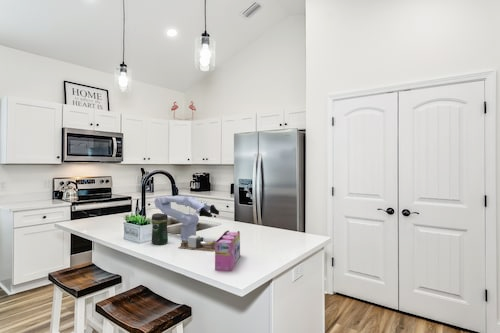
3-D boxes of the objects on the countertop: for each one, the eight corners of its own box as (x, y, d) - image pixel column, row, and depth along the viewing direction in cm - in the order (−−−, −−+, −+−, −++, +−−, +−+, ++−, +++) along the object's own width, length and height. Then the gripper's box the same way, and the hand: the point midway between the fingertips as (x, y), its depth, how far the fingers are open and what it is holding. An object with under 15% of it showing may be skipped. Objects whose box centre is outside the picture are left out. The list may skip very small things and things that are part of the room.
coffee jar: (170, 242, 180) (170, 213, 180) (160, 246, 173) (160, 215, 173) (158, 240, 185) (158, 211, 184) (149, 243, 178) (149, 213, 177)
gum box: (226, 254, 159) (227, 229, 159) (240, 255, 157) (241, 230, 157) (214, 270, 135) (214, 241, 135) (230, 271, 134) (231, 242, 134)
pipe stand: (178, 248, 169) (178, 241, 169) (185, 244, 177) (185, 237, 177) (213, 251, 163) (213, 243, 163) (218, 246, 172) (218, 239, 172)
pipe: (181, 244, 172) (181, 240, 172) (183, 243, 174) (183, 239, 174) (214, 247, 167) (214, 243, 167) (215, 246, 169) (215, 242, 169)
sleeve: (188, 247, 169) (188, 237, 169) (191, 244, 174) (192, 235, 174) (195, 247, 168) (195, 238, 168) (199, 245, 173) (199, 235, 173)
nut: (196, 247, 168) (196, 239, 168) (200, 245, 173) (200, 237, 173) (199, 248, 167) (199, 240, 167) (203, 245, 173) (203, 237, 172)
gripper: (192, 202, 178) (208, 210, 171) (207, 198, 190) (223, 206, 184) (190, 213, 179) (206, 221, 173) (205, 208, 192) (221, 216, 185)
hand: (214, 214), depth 178 cm, fingers open, 7 cm apart
